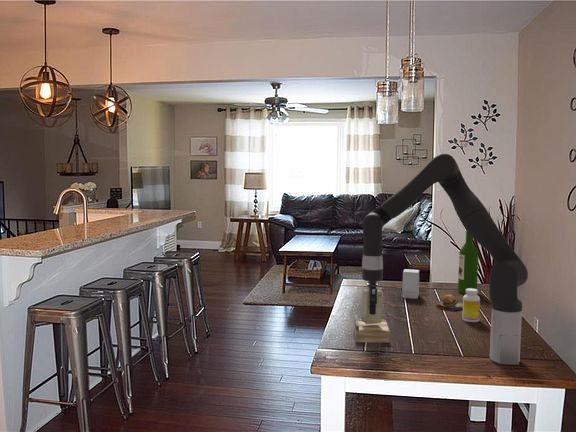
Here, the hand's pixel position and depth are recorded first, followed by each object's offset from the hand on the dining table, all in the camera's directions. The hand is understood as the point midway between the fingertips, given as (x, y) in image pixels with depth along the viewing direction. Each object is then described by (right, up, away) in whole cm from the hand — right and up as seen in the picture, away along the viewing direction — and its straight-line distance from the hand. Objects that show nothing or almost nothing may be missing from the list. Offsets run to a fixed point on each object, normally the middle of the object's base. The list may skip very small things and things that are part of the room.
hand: (371, 311), depth 203 cm
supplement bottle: (+44, -7, +21) cm, 49 cm away
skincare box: (0, -4, 0) cm, 4 cm away
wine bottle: (+57, -2, +66) cm, 88 cm away
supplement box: (+27, -3, +59) cm, 65 cm away
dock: (0, -9, +1) cm, 9 cm away
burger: (+41, -5, +41) cm, 58 cm away
